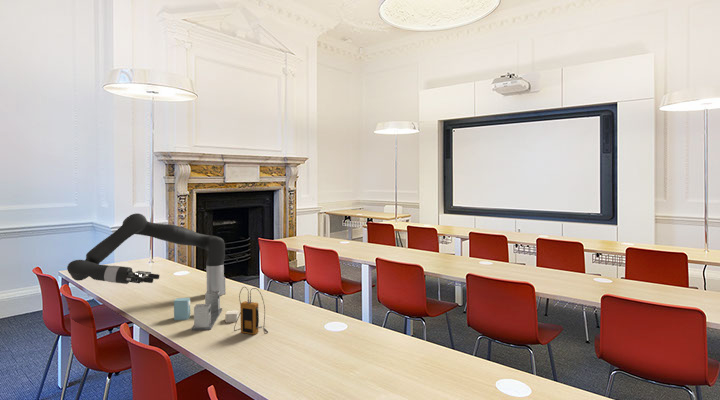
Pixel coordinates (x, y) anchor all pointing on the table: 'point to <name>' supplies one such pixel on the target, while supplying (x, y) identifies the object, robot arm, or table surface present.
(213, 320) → the grey u-shaped metal stand
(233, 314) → the block
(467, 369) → the table surface
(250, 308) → the multimeter
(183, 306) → the block
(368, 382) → the table surface
